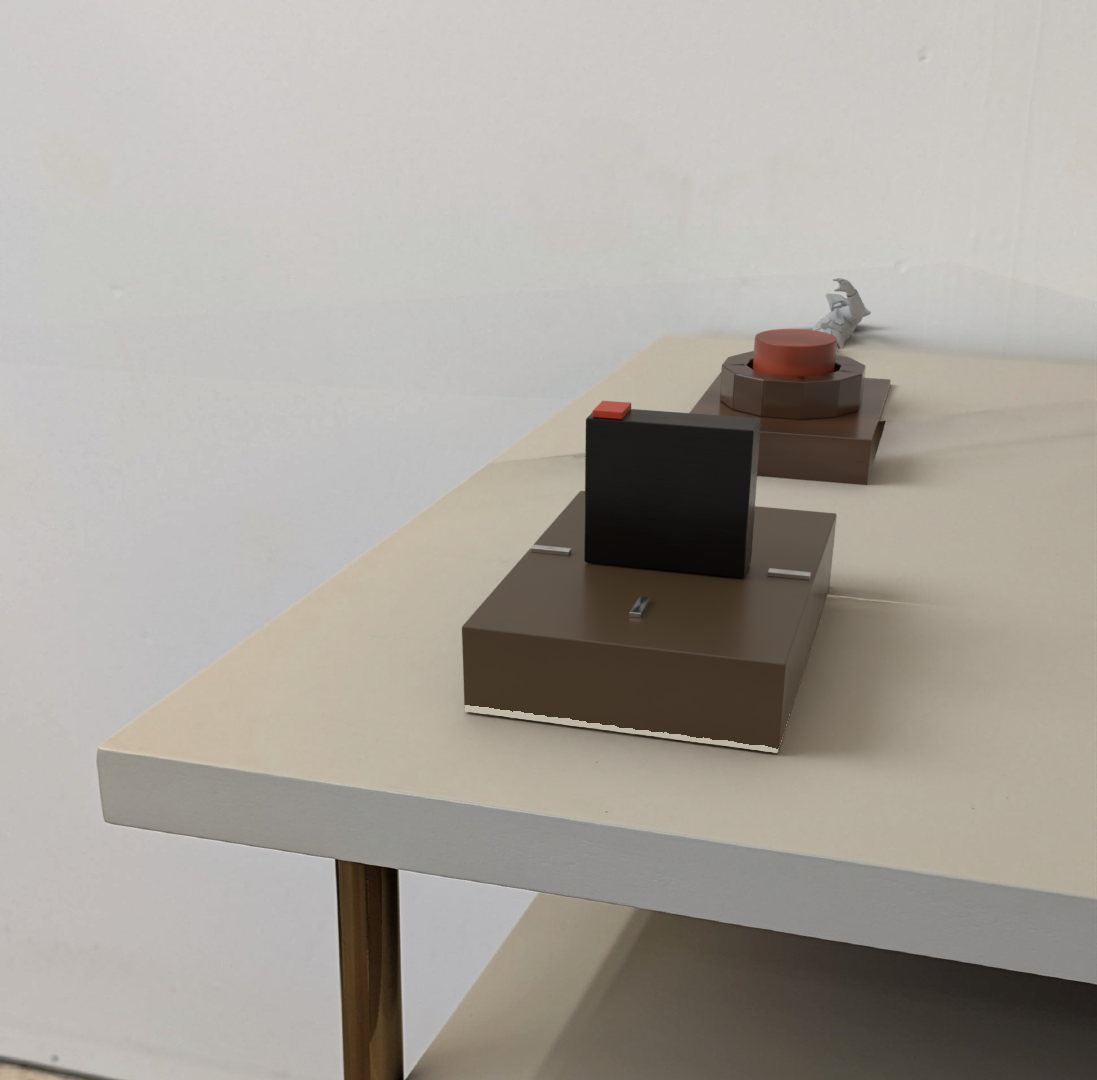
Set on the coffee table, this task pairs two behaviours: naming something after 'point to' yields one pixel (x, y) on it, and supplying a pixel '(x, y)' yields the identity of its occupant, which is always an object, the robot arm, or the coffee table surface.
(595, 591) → the plate
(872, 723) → the coffee table surface
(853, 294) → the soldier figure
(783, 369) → the red push button
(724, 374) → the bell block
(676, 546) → the battery-shaped black case
